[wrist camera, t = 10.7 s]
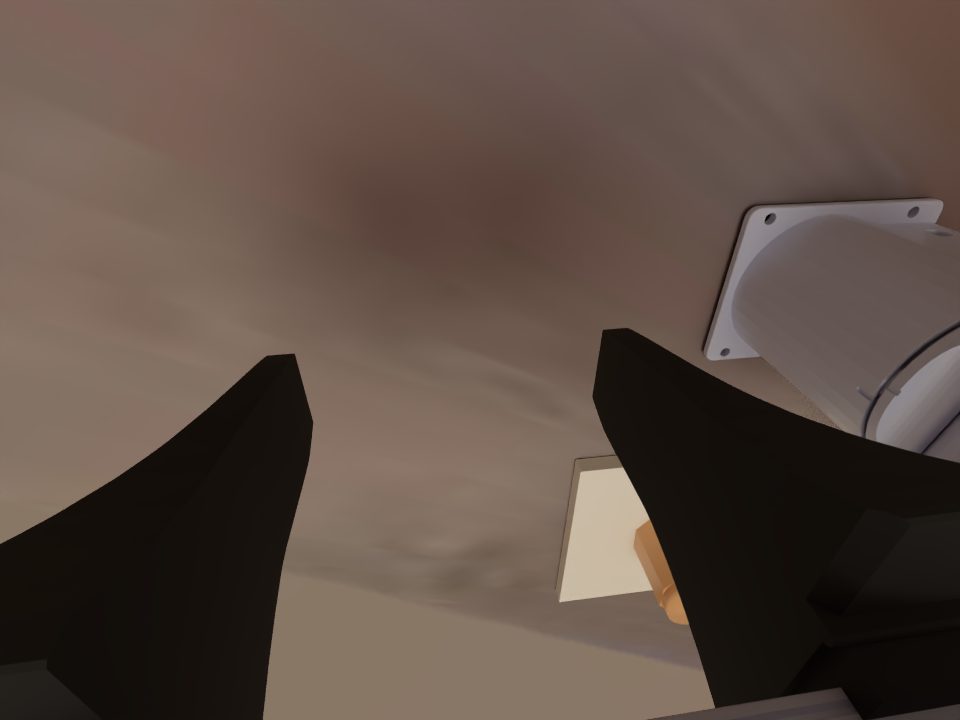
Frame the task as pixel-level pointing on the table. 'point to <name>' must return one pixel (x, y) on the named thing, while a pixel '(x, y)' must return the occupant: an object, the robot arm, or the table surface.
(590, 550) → the post board
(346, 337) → the table surface
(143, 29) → the table surface
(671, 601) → the cap
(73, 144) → the table surface
